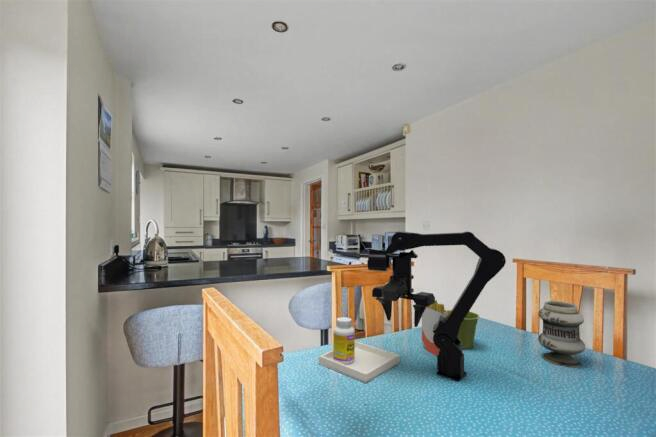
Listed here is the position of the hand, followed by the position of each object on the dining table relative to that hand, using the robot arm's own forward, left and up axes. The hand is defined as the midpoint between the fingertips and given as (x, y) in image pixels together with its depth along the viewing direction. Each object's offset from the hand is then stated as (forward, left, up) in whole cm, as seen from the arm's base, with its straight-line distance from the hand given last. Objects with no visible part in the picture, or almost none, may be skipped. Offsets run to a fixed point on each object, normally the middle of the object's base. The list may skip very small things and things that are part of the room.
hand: (402, 323), depth 96 cm
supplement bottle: (+15, +10, -13) cm, 22 cm away
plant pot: (-7, -30, -13) cm, 34 cm away
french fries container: (-3, -18, -13) cm, 23 cm away
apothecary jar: (-35, -39, -13) cm, 54 cm away
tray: (+11, +7, -13) cm, 18 cm away
